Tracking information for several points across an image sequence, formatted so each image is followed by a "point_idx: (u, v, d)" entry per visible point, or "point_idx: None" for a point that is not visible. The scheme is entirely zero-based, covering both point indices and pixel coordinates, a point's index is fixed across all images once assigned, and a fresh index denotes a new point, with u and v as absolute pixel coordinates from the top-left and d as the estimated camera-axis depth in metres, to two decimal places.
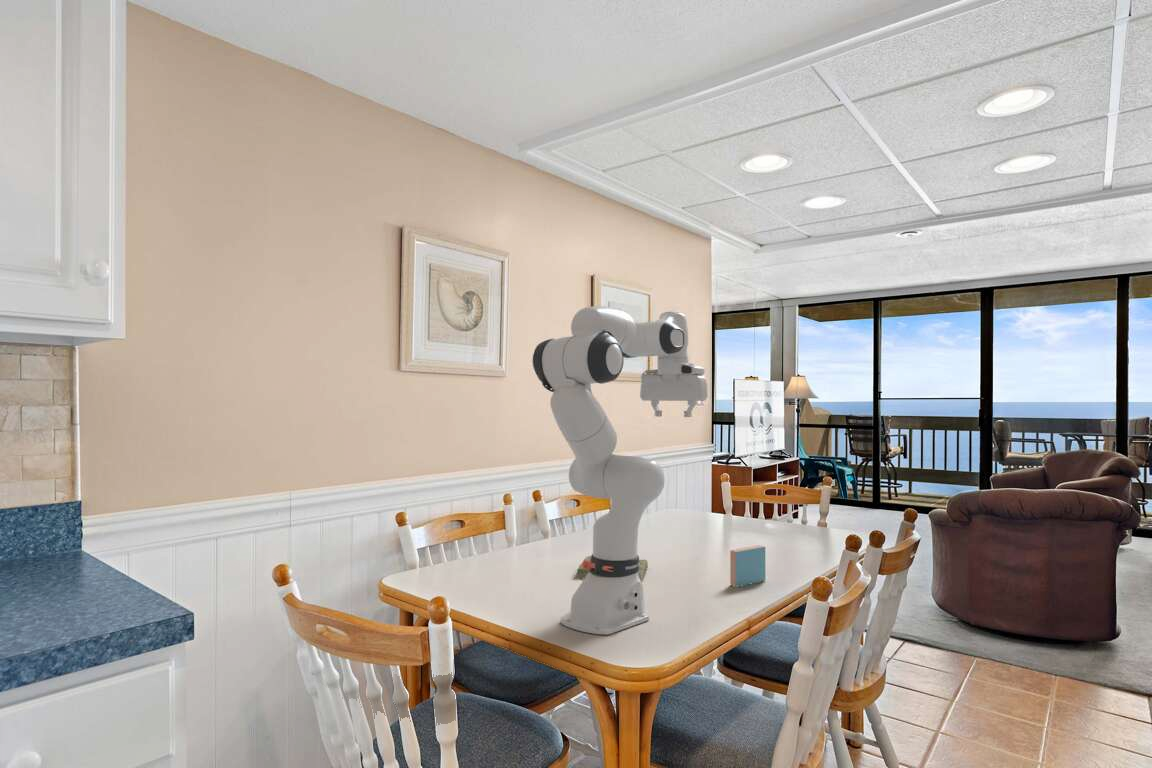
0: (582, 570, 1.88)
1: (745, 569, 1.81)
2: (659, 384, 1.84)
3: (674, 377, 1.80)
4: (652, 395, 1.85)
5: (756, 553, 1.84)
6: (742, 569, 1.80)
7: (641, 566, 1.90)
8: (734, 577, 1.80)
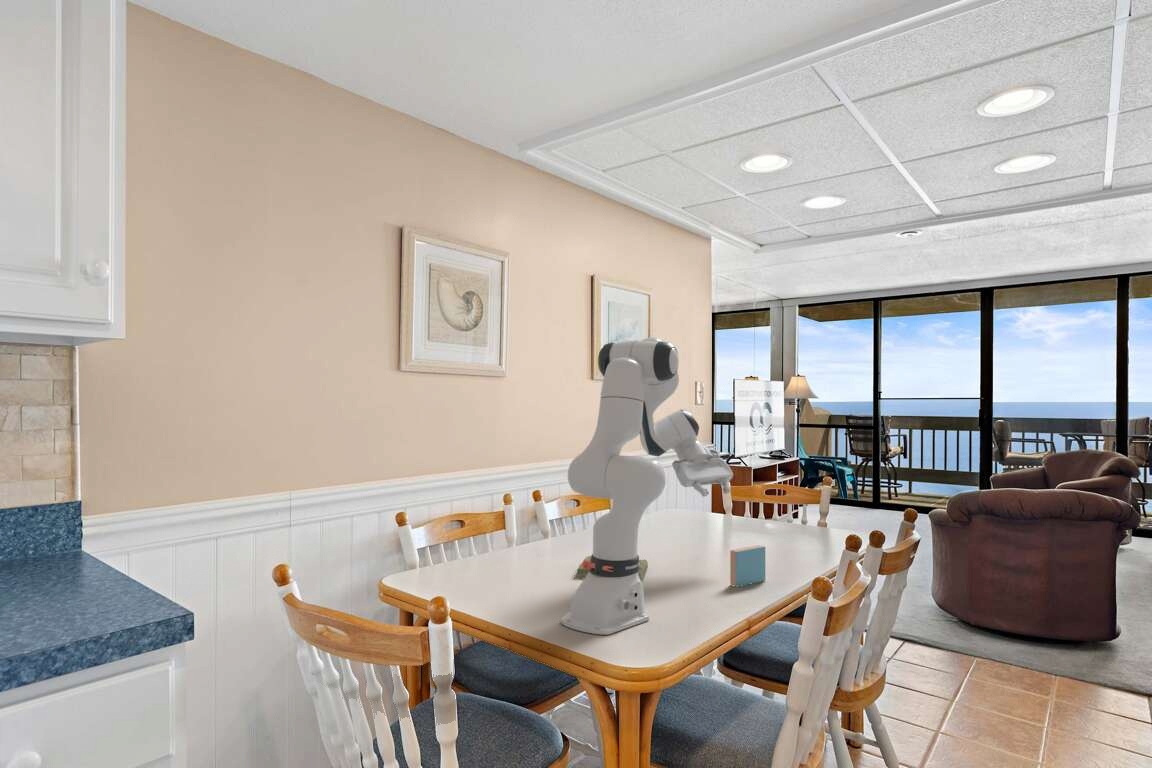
0: (582, 570, 1.88)
1: (745, 569, 1.81)
2: (695, 467, 1.97)
3: (706, 459, 2.00)
4: (696, 475, 1.94)
5: (756, 553, 1.84)
6: (742, 569, 1.80)
7: (641, 566, 1.90)
8: (734, 577, 1.80)
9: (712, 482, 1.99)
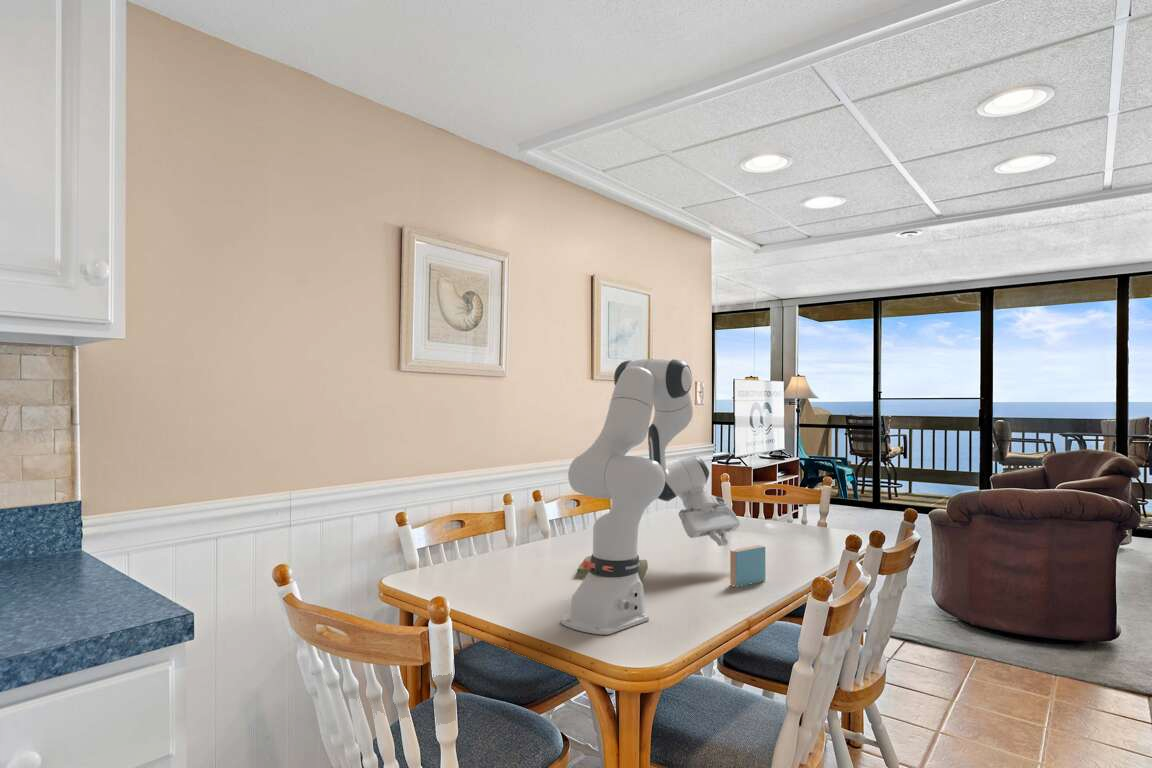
0: (582, 570, 1.88)
1: (745, 569, 1.81)
2: (702, 516, 1.94)
3: (713, 508, 1.98)
4: (703, 526, 1.91)
5: (756, 553, 1.84)
6: (742, 569, 1.80)
7: (641, 566, 1.90)
8: (734, 577, 1.80)
9: None
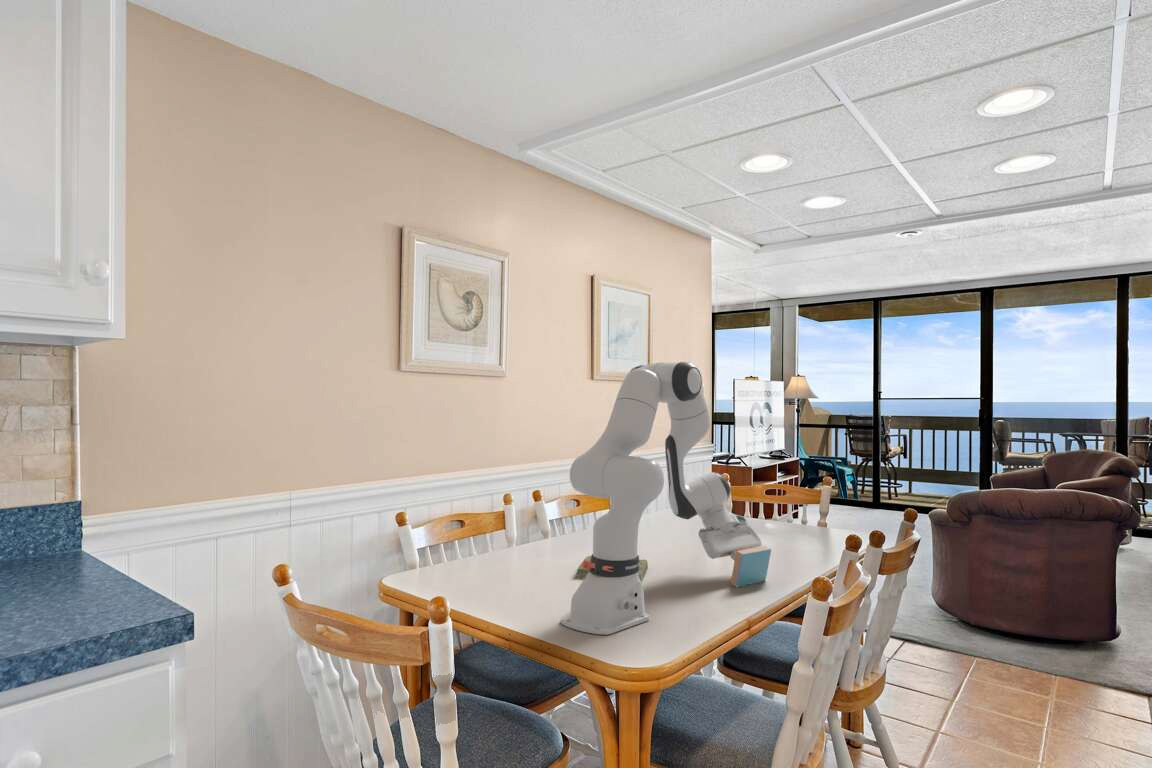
0: (582, 570, 1.88)
1: (748, 570, 1.80)
2: (723, 536, 1.87)
3: (734, 527, 1.90)
4: (724, 546, 1.84)
5: (761, 555, 1.82)
6: (745, 571, 1.80)
7: (641, 566, 1.90)
8: (736, 577, 1.79)
9: None
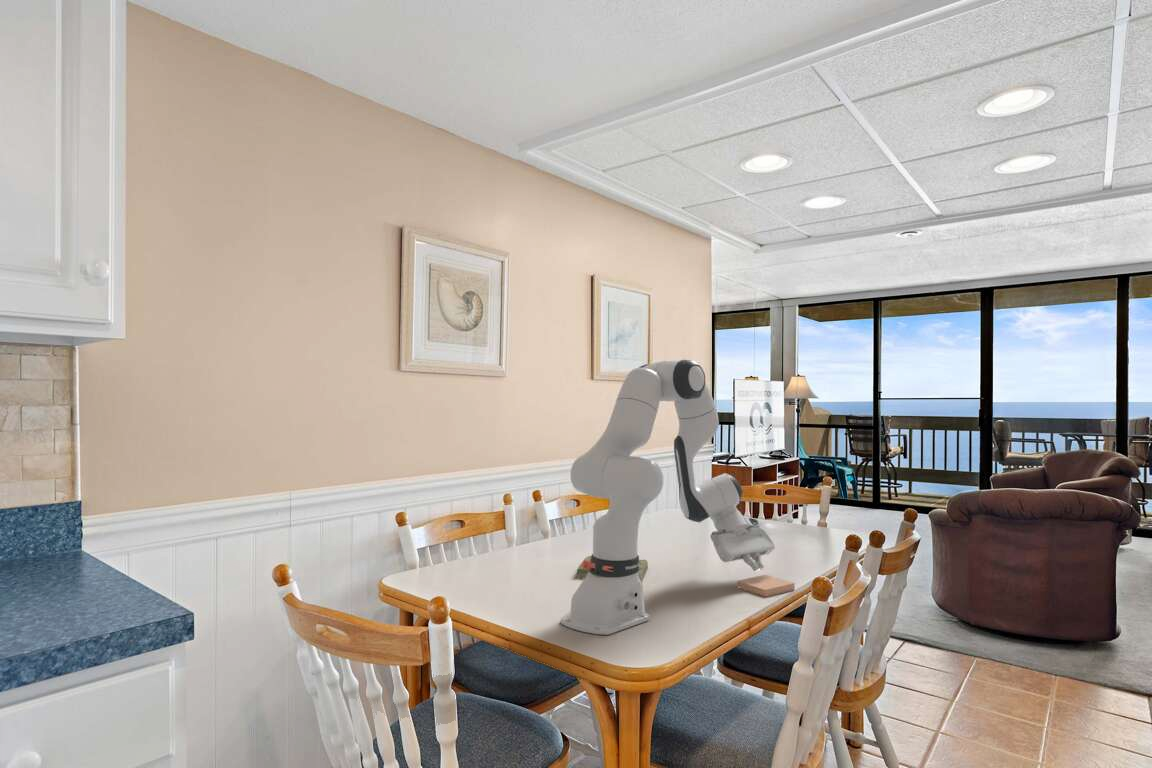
0: (582, 570, 1.88)
1: None
2: (735, 539, 1.83)
3: (746, 530, 1.86)
4: (737, 549, 1.79)
5: None
6: None
7: (641, 566, 1.90)
8: (744, 588, 1.77)
9: None
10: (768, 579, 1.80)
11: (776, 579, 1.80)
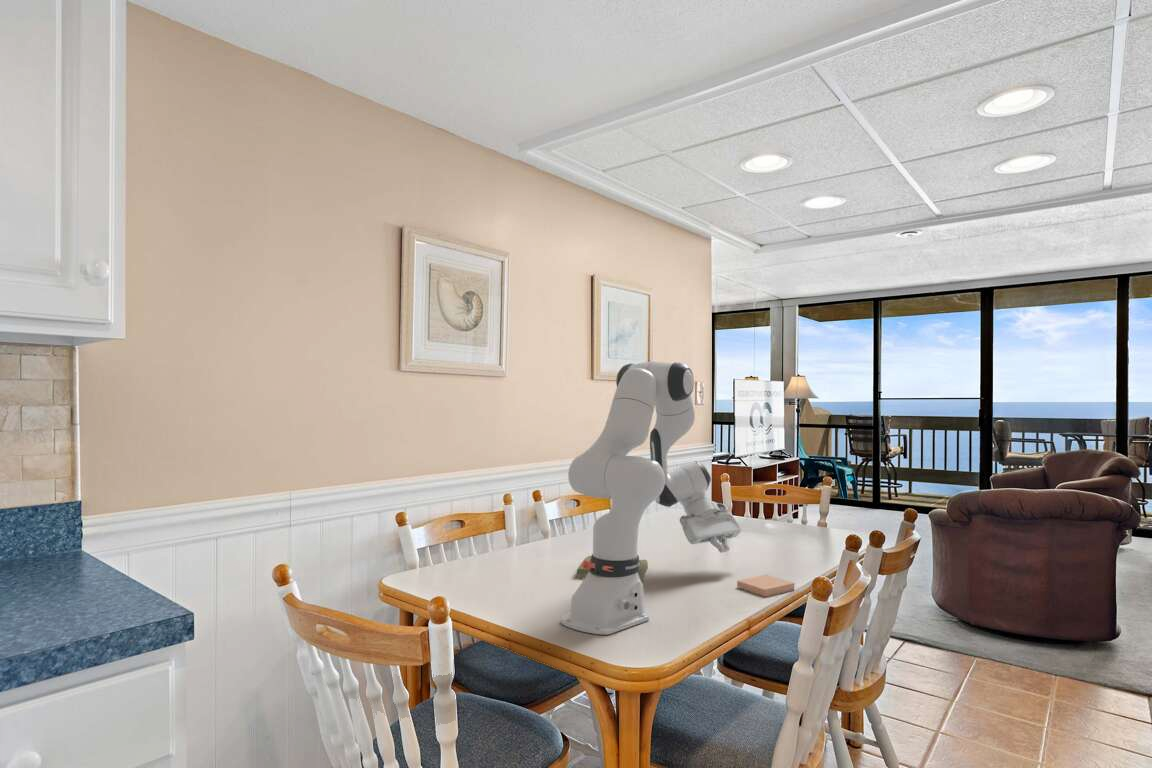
0: (582, 570, 1.88)
1: None
2: (703, 523, 1.94)
3: (714, 514, 1.97)
4: (704, 532, 1.91)
5: None
6: None
7: (641, 566, 1.90)
8: (744, 588, 1.77)
9: None
10: (768, 579, 1.80)
11: (776, 579, 1.80)
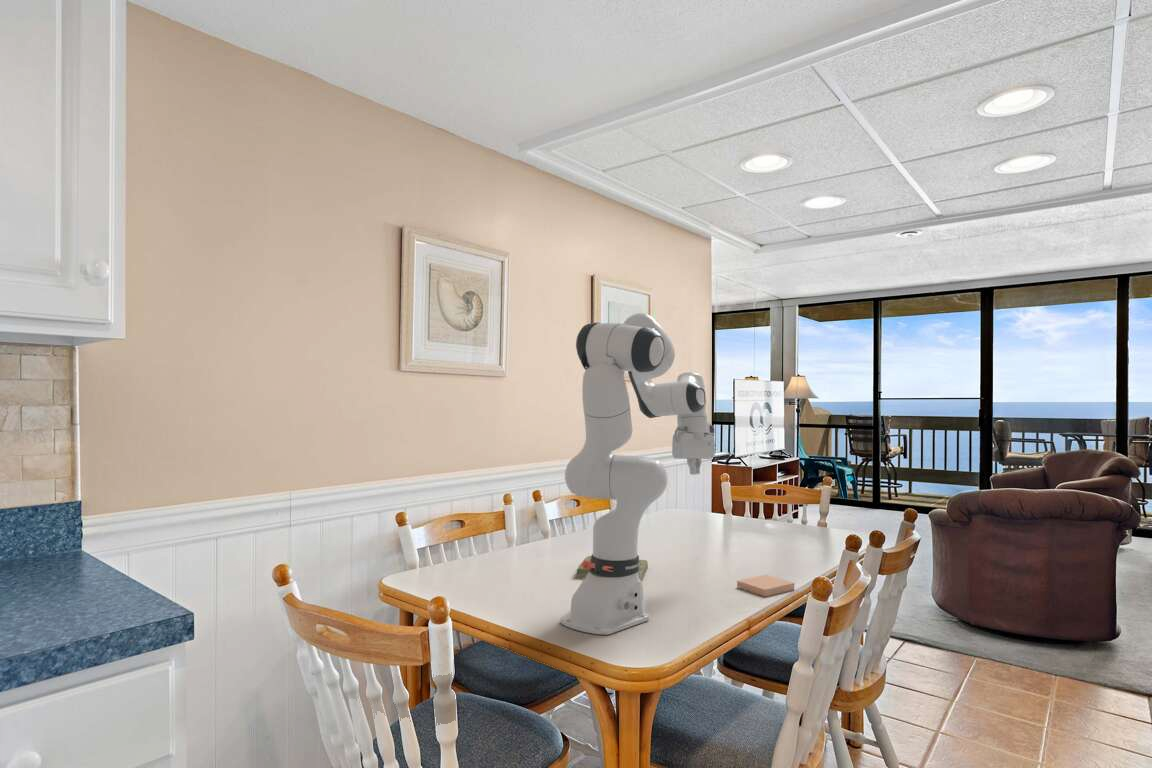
0: (582, 570, 1.88)
1: None
2: (692, 441, 1.85)
3: None
4: (690, 452, 1.82)
5: None
6: None
7: (641, 566, 1.90)
8: (744, 588, 1.77)
9: None
10: (768, 579, 1.80)
11: (776, 579, 1.80)
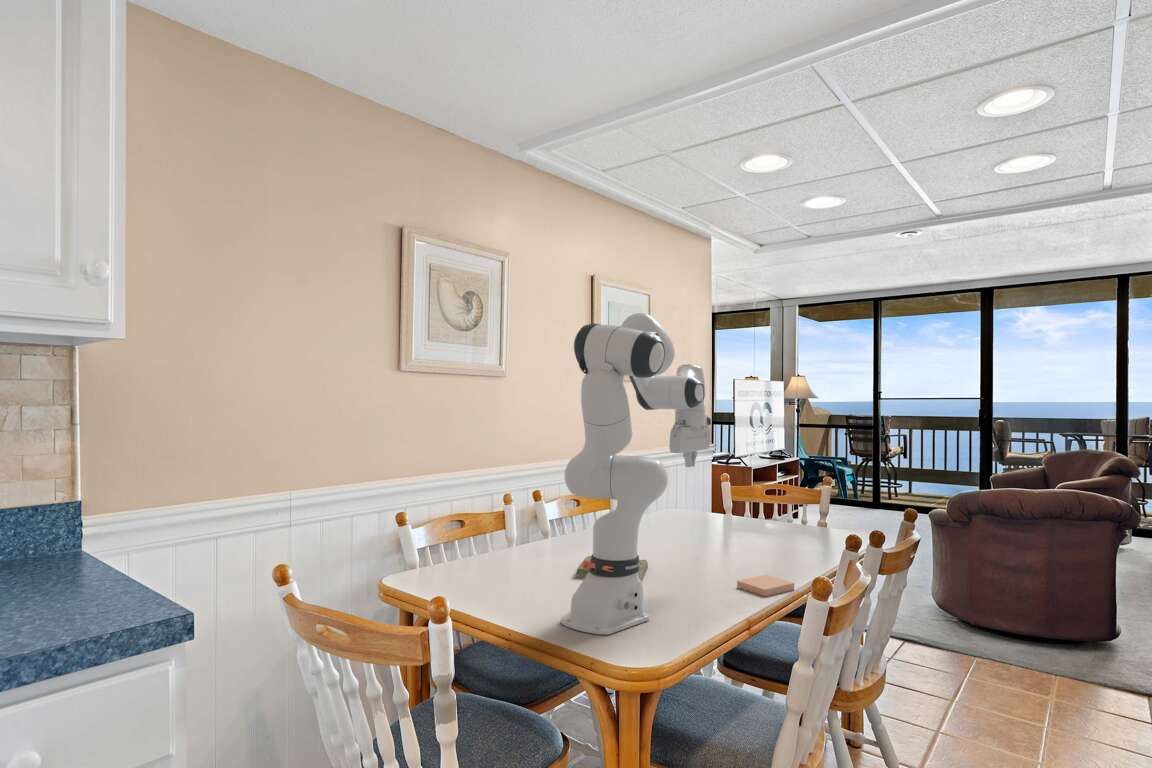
0: (581, 570, 1.88)
1: None
2: (689, 435, 1.84)
3: None
4: (687, 447, 1.82)
5: None
6: None
7: (641, 566, 1.90)
8: (744, 588, 1.77)
9: None
10: (768, 579, 1.80)
11: (775, 579, 1.80)
